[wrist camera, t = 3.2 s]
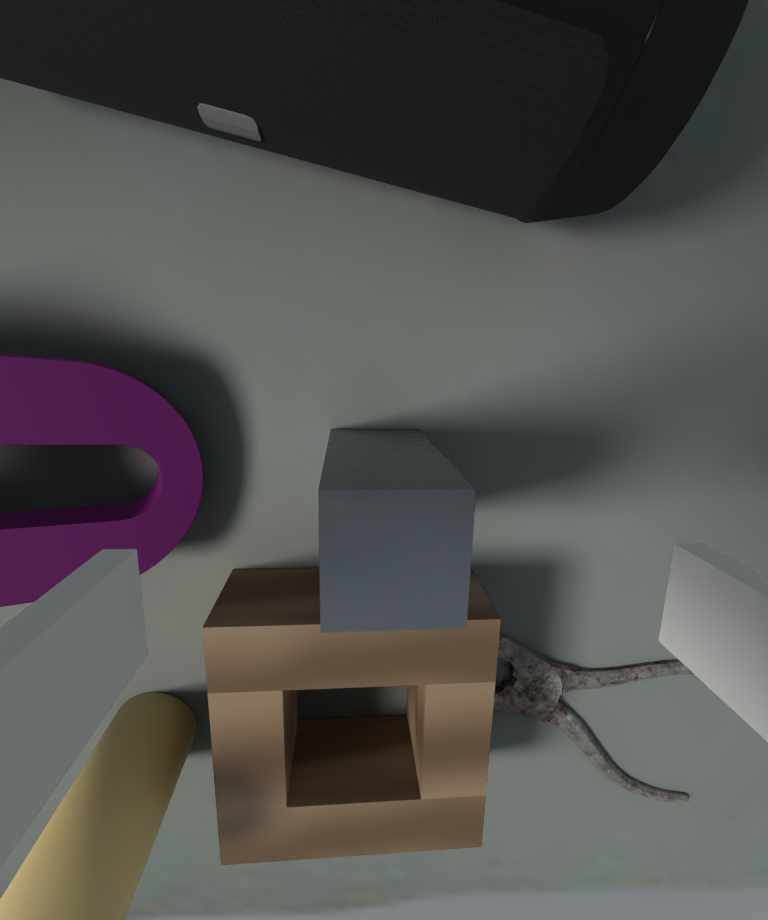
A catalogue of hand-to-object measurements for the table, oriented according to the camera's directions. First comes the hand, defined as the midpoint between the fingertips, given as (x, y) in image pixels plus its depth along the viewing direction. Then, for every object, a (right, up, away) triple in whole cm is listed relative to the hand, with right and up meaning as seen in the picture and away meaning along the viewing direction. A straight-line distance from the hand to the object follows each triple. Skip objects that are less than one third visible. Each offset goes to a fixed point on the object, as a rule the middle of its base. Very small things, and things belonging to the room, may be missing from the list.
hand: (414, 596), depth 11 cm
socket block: (-2, -8, +13) cm, 16 cm away
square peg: (-1, +3, +11) cm, 12 cm away
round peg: (-13, -11, +13) cm, 21 cm away
